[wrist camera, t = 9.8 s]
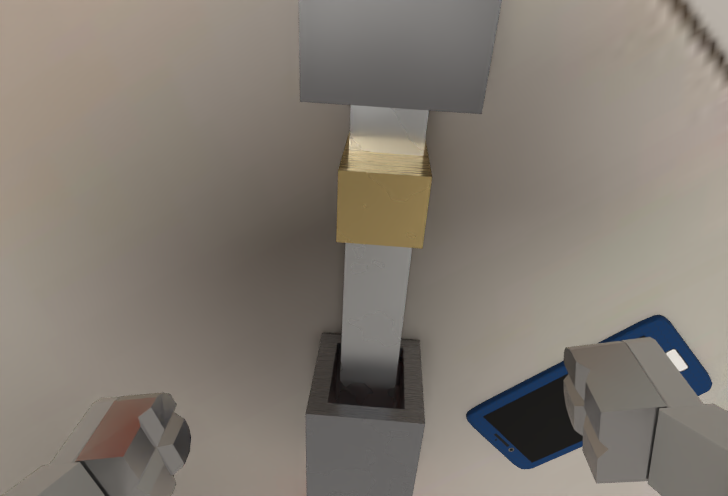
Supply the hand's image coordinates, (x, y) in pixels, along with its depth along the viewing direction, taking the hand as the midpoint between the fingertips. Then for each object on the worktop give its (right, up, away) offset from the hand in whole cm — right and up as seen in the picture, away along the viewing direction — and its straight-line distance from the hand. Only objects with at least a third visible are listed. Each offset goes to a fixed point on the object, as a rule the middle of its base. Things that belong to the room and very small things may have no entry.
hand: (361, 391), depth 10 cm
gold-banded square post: (+1, +4, +16) cm, 16 cm away
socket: (+1, +13, +11) cm, 16 cm away
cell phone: (+14, -7, +22) cm, 27 cm away
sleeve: (0, -8, +22) cm, 24 cm away
